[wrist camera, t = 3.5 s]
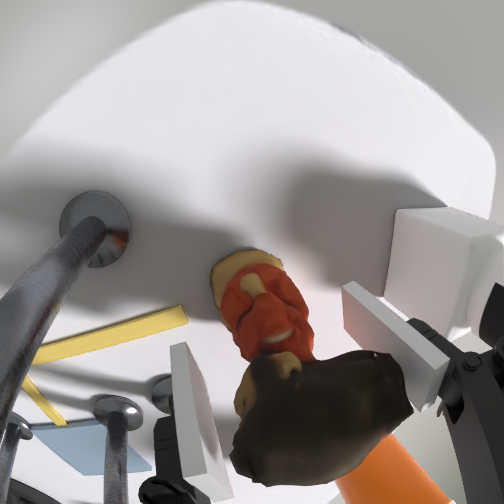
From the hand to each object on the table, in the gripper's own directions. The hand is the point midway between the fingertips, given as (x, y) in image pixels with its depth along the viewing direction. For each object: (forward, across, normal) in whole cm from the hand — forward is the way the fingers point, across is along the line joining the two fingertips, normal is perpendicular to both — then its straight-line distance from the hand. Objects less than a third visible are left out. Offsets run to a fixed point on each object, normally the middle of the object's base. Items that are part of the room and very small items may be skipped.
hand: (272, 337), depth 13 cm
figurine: (+5, 0, 0) cm, 5 cm away
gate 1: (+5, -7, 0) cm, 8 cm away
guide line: (+5, -12, -3) cm, 13 cm away
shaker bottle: (+5, +6, -21) cm, 22 cm away
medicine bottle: (+5, +14, -2) cm, 15 cm away
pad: (+5, -19, -12) cm, 23 cm away
